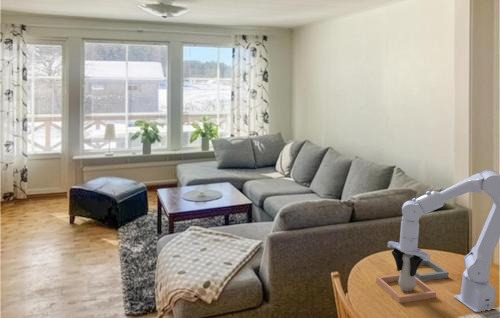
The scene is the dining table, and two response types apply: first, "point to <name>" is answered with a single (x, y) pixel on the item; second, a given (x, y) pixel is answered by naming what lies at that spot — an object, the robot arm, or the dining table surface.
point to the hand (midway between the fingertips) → (406, 272)
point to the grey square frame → (439, 274)
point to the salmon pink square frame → (409, 297)
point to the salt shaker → (406, 275)
